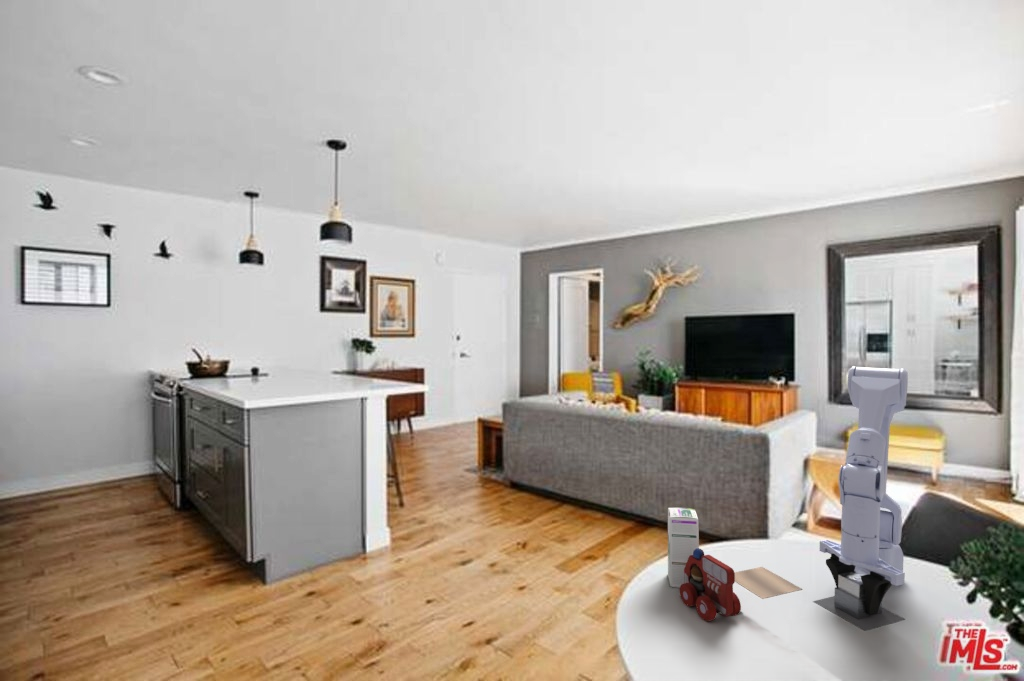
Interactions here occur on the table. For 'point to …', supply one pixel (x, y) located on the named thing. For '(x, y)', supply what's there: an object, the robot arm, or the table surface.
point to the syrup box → (681, 542)
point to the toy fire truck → (709, 586)
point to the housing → (852, 595)
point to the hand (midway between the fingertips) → (857, 606)
